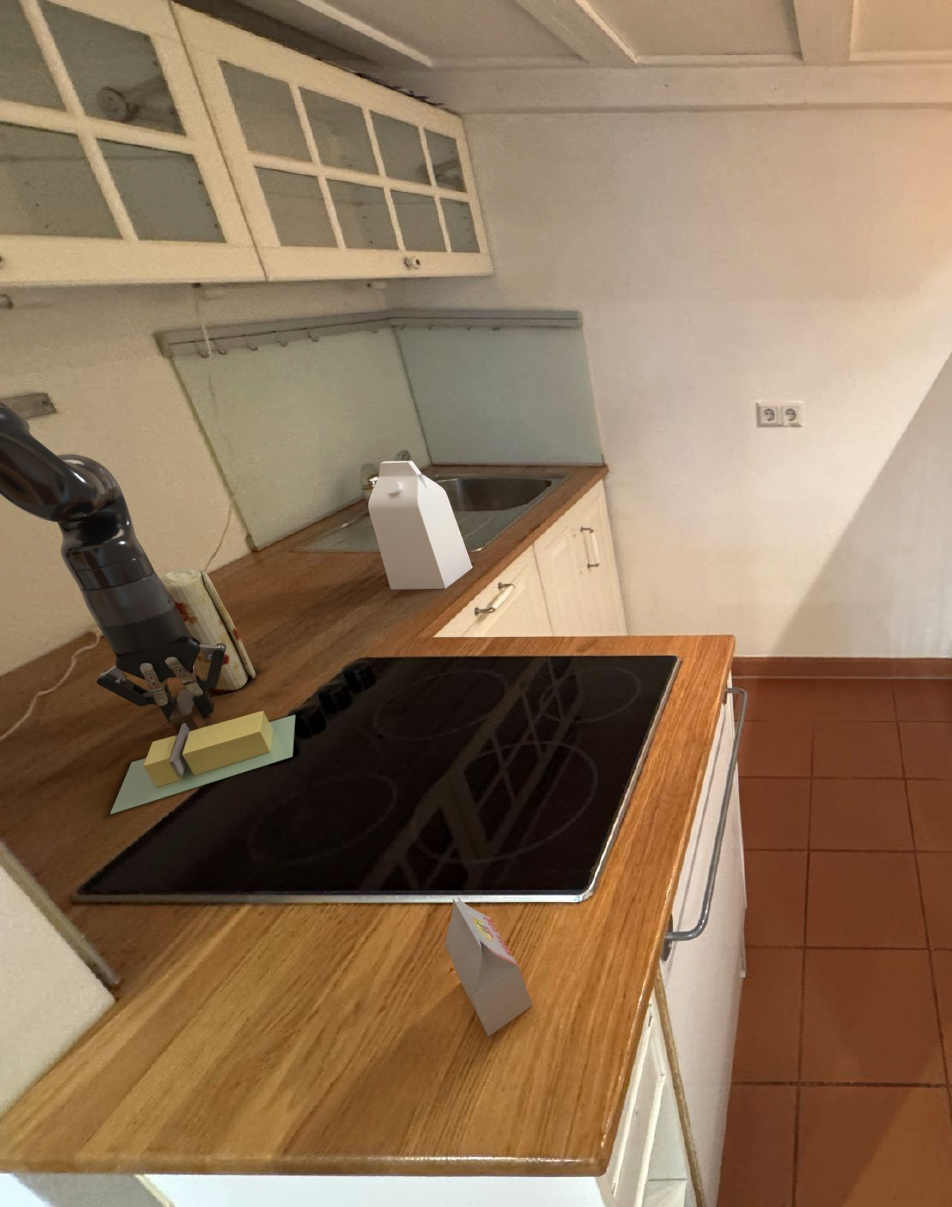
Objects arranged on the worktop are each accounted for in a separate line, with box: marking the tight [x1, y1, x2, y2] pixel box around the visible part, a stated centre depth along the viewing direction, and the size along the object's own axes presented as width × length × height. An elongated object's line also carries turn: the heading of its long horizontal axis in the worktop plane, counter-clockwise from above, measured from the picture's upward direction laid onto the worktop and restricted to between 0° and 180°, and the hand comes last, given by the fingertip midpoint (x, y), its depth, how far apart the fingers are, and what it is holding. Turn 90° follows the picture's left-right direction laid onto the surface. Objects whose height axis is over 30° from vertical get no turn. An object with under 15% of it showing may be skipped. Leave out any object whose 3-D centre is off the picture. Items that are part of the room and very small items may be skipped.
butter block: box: [182, 710, 273, 775], centre depth 89 cm, size 8×6×4 cm
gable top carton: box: [444, 895, 533, 1037], centre depth 56 cm, size 4×7×10 cm, turn 44°
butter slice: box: [143, 734, 187, 787], centre depth 85 cm, size 2×6×4 cm, turn 35°
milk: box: [367, 460, 473, 591], centre depth 140 cm, size 12×12×26 cm
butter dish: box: [109, 714, 296, 815], centre depth 88 cm, size 18×12×1 cm, turn 125°
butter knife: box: [169, 688, 208, 778], centre depth 89 cm, size 2×19×4 cm, turn 35°
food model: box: [159, 568, 256, 694], centre depth 103 cm, size 10×7×20 cm
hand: (195, 718), depth 93 cm, fingers closed on butter knife, 2 cm apart
